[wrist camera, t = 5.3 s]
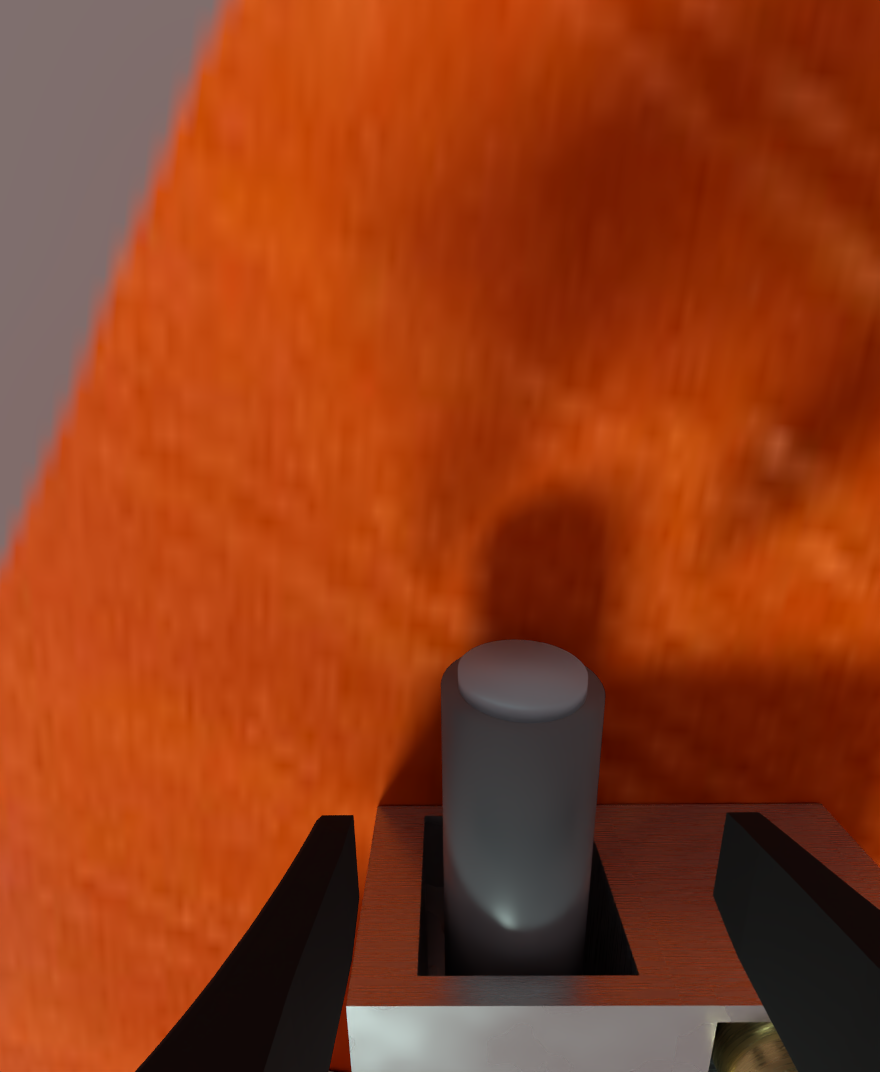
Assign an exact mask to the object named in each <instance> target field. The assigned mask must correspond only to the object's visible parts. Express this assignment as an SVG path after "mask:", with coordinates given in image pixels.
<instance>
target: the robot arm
mask: <svg viewBox="0 0 880 1072" xmlns="http://www.w3.org/2000/svg"><path fill="white" fill-rule="evenodd" d="M713 897H714V899H715V902H716V905H717V907H718V910H719V912H720V915H721V917H722V920H723V922H724V925H725V928H726V930H727V932H728V935H729V937H730V940H731V942H732V944H733V947H734V949H735V951H736V954H737V956H738V958H739V960H740V962H741V964H742V966H743V968H744V970H745V972H746V974H747V976H748V978H749V980H750V982H751V984H752V986H753V988H754V990H755V991H756V993H757V995H758V997H759V999H760V1001H761V1003H762V1005H763V1007H764V1009H765V1011H766V1012H767V1014H768V1016H769V1018H770V1020H771V1022H772V1024H773V1026H774V1028H775V1029H776V1031H777V1033H778V1035H779V1037H780V1039H781V1041H782V1043H783V1045H784V1046H785V1048H786V1050H787V1052H788V1054H789V1056H790V1058H791V1060H792V1061H793V1063H794V1065H795V1067H796V1069H797V1071H798V1072H880V910H879V909H878V908H877V907H876V906H874V905H873V904H872V903H870V902H869V901H868V900H867V899H865V898H864V897H863V896H862V895H860V894H859V893H858V892H857V891H855V890H854V889H853V888H852V887H851V886H849V885H848V884H847V883H846V882H844V881H843V880H842V879H841V878H839V877H838V876H837V875H836V874H834V873H833V872H832V871H831V870H830V869H828V868H827V867H826V866H825V865H823V864H822V863H821V862H820V861H819V860H817V859H816V858H815V857H814V856H812V855H811V854H810V853H809V852H808V851H806V850H805V849H804V848H803V847H801V846H800V845H799V844H798V843H797V842H795V841H794V840H793V839H792V838H790V837H789V836H788V835H787V834H786V833H784V832H783V831H782V830H781V829H779V828H778V827H777V826H776V825H774V824H773V823H772V822H771V821H769V820H768V819H767V818H766V817H764V816H763V815H762V814H760V813H759V812H727V813H726V819H725V825H724V831H723V837H722V843H721V849H720V855H719V861H718V867H717V873H716V878H715V884H714V890H713ZM358 904H359V887H358V873H357V859H356V845H355V831H354V817H353V815H325V816H321V817H320V818H319V819H318V820H317V821H316V823H315V824H314V826H313V828H312V830H311V832H310V834H309V835H308V837H307V839H306V841H305V842H304V844H303V846H302V847H301V849H300V851H299V852H298V854H297V856H296V857H295V859H294V861H293V862H292V864H291V866H290V867H289V869H288V870H287V872H286V874H285V875H284V877H283V878H282V880H281V881H280V883H279V885H278V886H277V888H276V889H275V891H274V892H273V894H272V895H271V897H270V898H269V900H268V901H267V903H266V904H265V906H264V907H263V909H262V910H261V912H260V913H259V915H258V916H257V918H256V919H255V921H254V922H253V923H252V925H251V926H250V928H249V929H248V931H247V932H246V933H245V935H244V936H243V937H242V939H241V940H240V942H239V943H238V944H237V946H236V947H235V948H234V950H233V951H232V952H231V954H230V955H229V957H228V958H227V959H226V961H225V962H224V963H223V965H222V966H221V967H220V969H219V970H218V972H217V973H216V974H215V976H214V977H213V978H212V980H211V981H210V982H209V983H208V985H207V986H206V987H205V989H204V990H203V991H202V992H201V994H200V995H199V996H198V997H197V999H196V1000H195V1001H194V1003H193V1004H192V1005H191V1006H190V1008H189V1009H188V1010H187V1011H186V1012H185V1014H184V1015H183V1016H182V1017H181V1019H180V1020H179V1021H178V1022H177V1023H176V1025H175V1026H174V1027H173V1028H172V1029H171V1031H170V1032H169V1033H168V1034H167V1035H166V1037H165V1038H164V1039H163V1040H162V1041H161V1043H160V1044H159V1045H158V1046H157V1047H156V1048H155V1050H154V1051H153V1052H152V1053H151V1054H150V1055H149V1056H148V1058H147V1059H146V1060H145V1061H144V1062H143V1063H142V1064H141V1066H140V1067H139V1068H138V1069H137V1070H136V1071H135V1072H328V1071H329V1067H330V1062H331V1057H332V1052H333V1048H334V1043H335V1038H336V1034H337V1029H338V1024H339V1019H340V1015H341V1010H342V1005H343V1000H344V995H345V991H346V986H347V981H348V976H349V971H350V966H351V962H352V954H353V946H354V938H355V930H356V921H357V912H358Z"/></svg>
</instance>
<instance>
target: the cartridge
mask: <svg viewBox="0 0 880 1072" xmlns="http://www.w3.org/2000/svg"><path fill="white" fill-rule="evenodd" d="M604 706H605V690H604V687H603V685H602V683H601V681H600V680H599V678H598V677H597V676H596V675H595V674H594V673H593V672H592V671H591V670H590V669H589V668H587V667H586V666H584V665H583V663H582V662H581V661H580V660H579V659H578V658H576V657H575V656H574V655H572V654H571V653H569V652H567V651H565V650H563V649H561V648H559V647H556V646H553V645H550V644H546V643H542V642H537V641H531V640H515V639H513V640H499V641H493V642H489V643H485V644H482V645H479V646H477V647H475V648H473V649H471V650H469V651H468V652H467V653H466V654H464V656H463V657H461V658H459V659H458V660H456V661H455V662H453V663H452V664H451V665H450V666H449V667H448V668H447V669H446V671H445V673H444V674H443V677H442V680H441V725H442V795H443V865H444V936H445V976H582V973H583V961H584V949H585V937H586V925H587V912H588V900H589V888H590V876H591V864H592V852H593V840H594V828H595V816H596V803H597V791H598V779H599V767H600V755H601V743H602V731H603V719H604Z"/></svg>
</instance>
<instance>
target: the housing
mask: <svg viewBox="0 0 880 1072" xmlns="http://www.w3.org/2000/svg"><path fill="white" fill-rule="evenodd" d="M727 812H759V813H760V814H762V815H763V816H764V817H766V818H767V819H768V820H769V821H771V822H772V823H773V824H774V825H776V826H777V827H778V828H779V829H781V830H782V831H783V832H784V833H786V834H787V835H788V836H789V837H790V838H792V839H793V840H794V841H795V842H797V843H798V844H799V845H800V846H801V847H803V848H804V849H805V850H806V851H808V852H809V853H810V854H811V855H812V856H814V857H815V858H816V859H817V860H819V861H820V862H821V863H822V864H823V865H825V866H826V867H827V868H828V869H830V870H831V871H832V872H833V873H834V874H836V875H837V876H838V877H839V878H841V879H842V880H843V881H844V882H846V883H847V884H848V885H849V886H851V887H852V888H853V889H854V890H855V891H857V892H858V893H859V894H860V895H862V896H863V897H864V898H865V899H867V900H868V901H869V902H870V903H872V904H873V905H874V906H876V907H877V908H878V909H879V910H880V868H879V867H878V865H877V864H876V863H875V862H874V861H873V860H872V859H871V858H870V857H869V856H868V854H867V853H866V852H865V851H864V850H863V849H862V848H861V847H860V846H859V845H858V843H857V842H856V841H855V840H854V839H853V838H852V837H851V836H850V835H849V834H848V832H847V831H846V830H845V829H844V828H843V827H842V826H841V825H840V824H839V823H838V822H837V820H836V819H835V818H834V817H833V816H832V815H831V814H830V813H829V812H828V811H827V809H826V808H825V807H824V806H823V805H822V804H669V805H596V816H595V828H594V840H593V852H592V864H591V876H590V888H589V900H588V912H587V925H586V937H585V949H584V961H583V973H582V976H445V936H444V865H443V806H378V807H377V814H376V820H375V826H374V833H373V839H372V845H371V852H370V858H369V864H368V871H367V877H366V883H365V890H364V896H363V902H362V909H361V915H360V921H359V928H358V934H357V940H356V947H355V953H354V959H353V966H352V972H351V978H350V984H349V991H348V997H347V1003H346V1012H347V1023H348V1035H349V1047H350V1058H351V1070H352V1072H717V1070H716V1067H715V1065H714V1062H713V1060H712V1057H711V1054H712V1048H713V1043H714V1037H715V1032H716V1027H717V1022H771V1020H770V1018H769V1016H768V1014H767V1012H766V1011H765V1009H764V1007H763V1005H762V1003H761V1001H760V999H759V997H758V995H757V993H756V991H755V990H754V988H753V986H752V984H751V982H750V980H749V978H748V976H747V974H746V972H745V970H744V968H743V966H742V964H741V962H740V960H739V958H738V956H737V954H736V951H735V949H734V947H733V944H732V942H731V940H730V937H729V935H728V932H727V930H726V928H725V925H724V922H723V920H722V917H721V915H720V912H719V910H718V907H717V905H716V902H715V899H714V897H713V890H714V884H715V878H716V873H717V867H718V861H719V855H720V849H721V843H722V837H723V831H724V825H725V819H726V813H727Z"/></svg>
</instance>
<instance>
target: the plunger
mask: <svg viewBox="0 0 880 1072" xmlns="http://www.w3.org/2000/svg"><path fill="white" fill-rule="evenodd" d="M711 1057H712V1060H713V1062H714V1065H715V1067H716V1070H717V1072H798V1071H797V1069H796V1067H795V1065H794V1063H793V1061H792V1060H791V1058H790V1056H789V1054H788V1052H787V1050H786V1048H785V1046H784V1045H783V1043H782V1041H781V1039H780V1037H779V1035H778V1033H777V1031H776V1029H775V1028H774V1026H773V1024H772V1022H717V1027H716V1032H715V1037H714V1043H713V1048H712V1054H711Z"/></svg>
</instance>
